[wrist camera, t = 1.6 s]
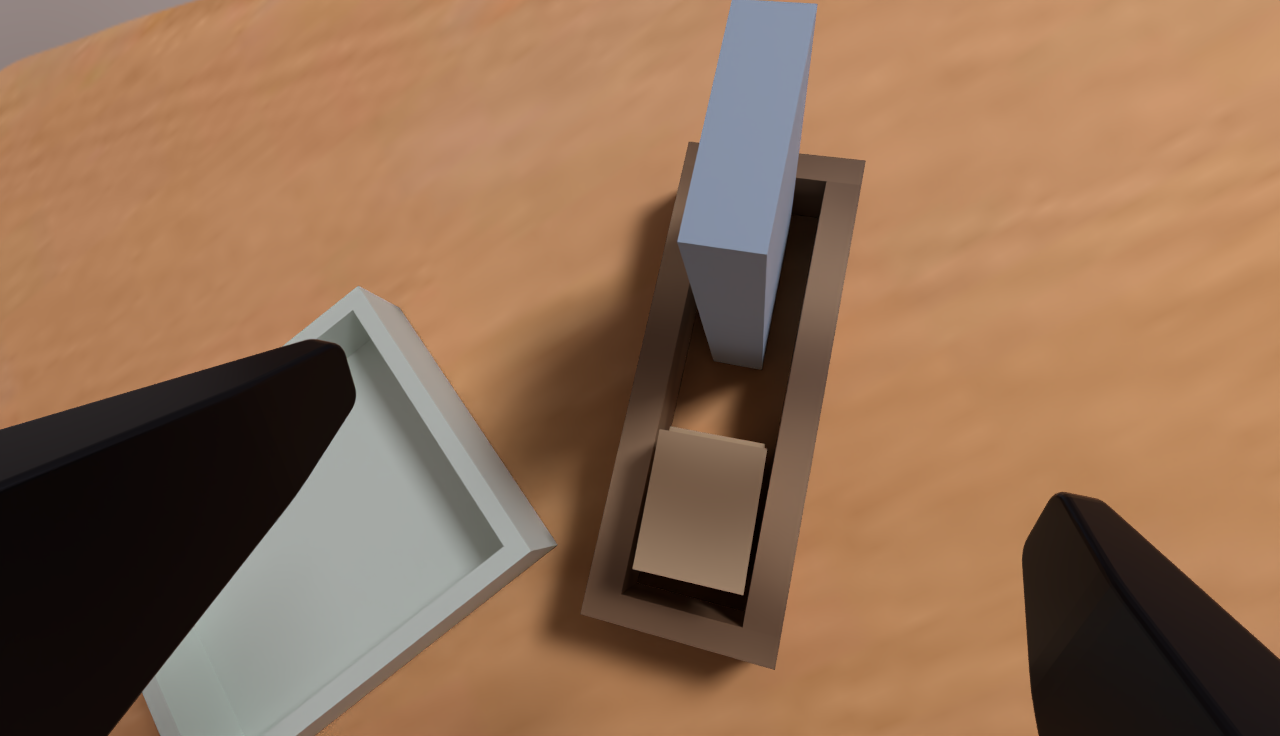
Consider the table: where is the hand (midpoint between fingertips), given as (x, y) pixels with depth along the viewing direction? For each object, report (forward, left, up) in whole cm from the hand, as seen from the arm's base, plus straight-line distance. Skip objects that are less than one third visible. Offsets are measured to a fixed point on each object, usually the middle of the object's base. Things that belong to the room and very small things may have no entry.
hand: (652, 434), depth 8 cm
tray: (-12, +7, -13) cm, 19 cm away
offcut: (-1, -1, -11) cm, 11 cm away
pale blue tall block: (+5, +4, -13) cm, 14 cm away
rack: (+2, +2, -13) cm, 13 cm away
